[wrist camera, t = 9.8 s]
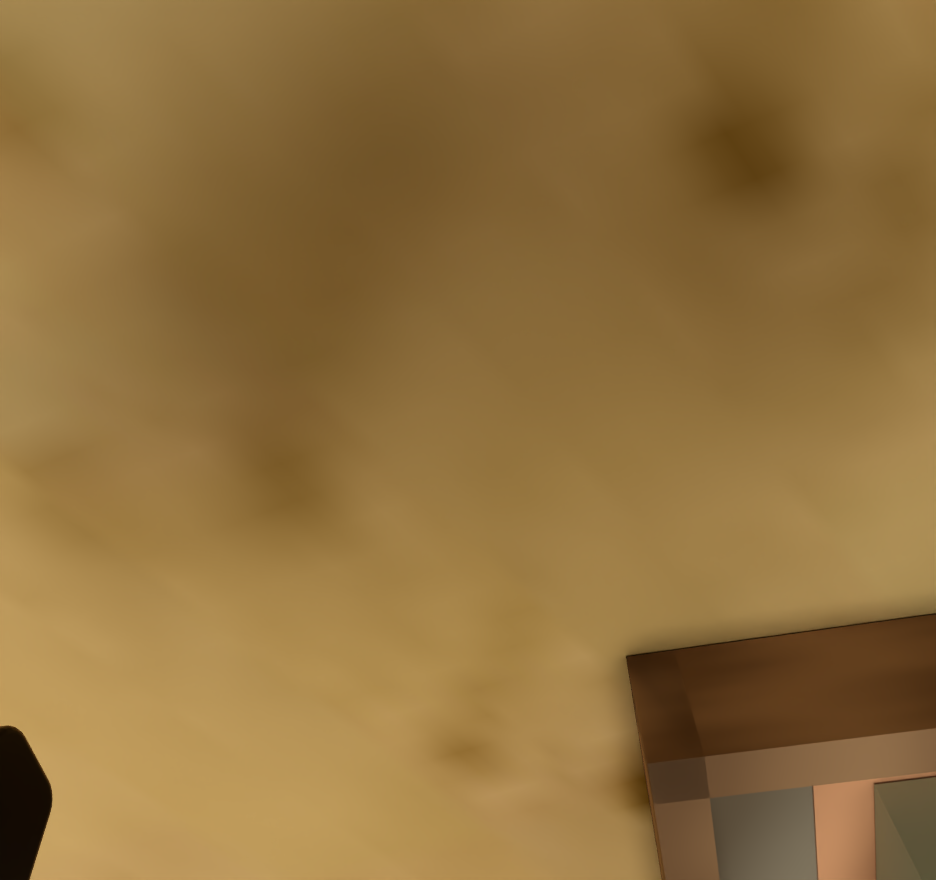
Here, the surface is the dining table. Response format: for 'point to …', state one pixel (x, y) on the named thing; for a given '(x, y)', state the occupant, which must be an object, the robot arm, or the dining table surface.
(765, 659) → the arena
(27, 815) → the robot arm
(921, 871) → the cube
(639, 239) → the dining table surface
